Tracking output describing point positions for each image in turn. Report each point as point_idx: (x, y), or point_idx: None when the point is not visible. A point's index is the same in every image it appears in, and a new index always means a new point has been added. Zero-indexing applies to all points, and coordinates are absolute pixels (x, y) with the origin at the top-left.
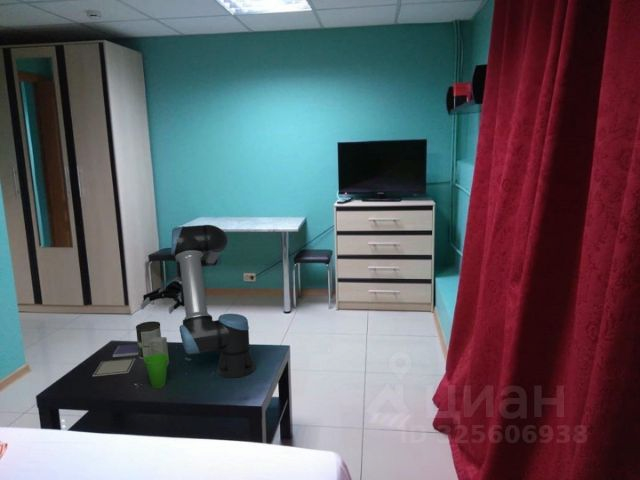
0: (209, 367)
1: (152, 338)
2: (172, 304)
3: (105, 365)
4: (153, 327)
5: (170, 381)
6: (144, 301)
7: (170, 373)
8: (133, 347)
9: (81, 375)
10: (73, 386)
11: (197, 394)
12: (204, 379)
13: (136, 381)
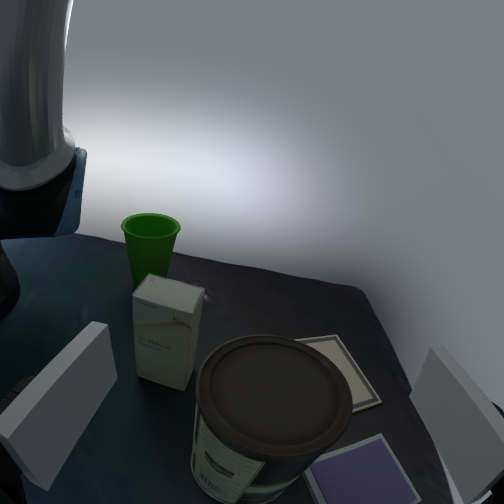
0: (26, 324)
1: (193, 300)
2: (57, 377)
3: (350, 380)
4: (222, 353)
5: (123, 291)
6: (468, 384)
7: (126, 322)
8: (352, 498)
9: (365, 341)
10: (338, 305)
11: (77, 249)
12: (52, 282)
13: (207, 305)
